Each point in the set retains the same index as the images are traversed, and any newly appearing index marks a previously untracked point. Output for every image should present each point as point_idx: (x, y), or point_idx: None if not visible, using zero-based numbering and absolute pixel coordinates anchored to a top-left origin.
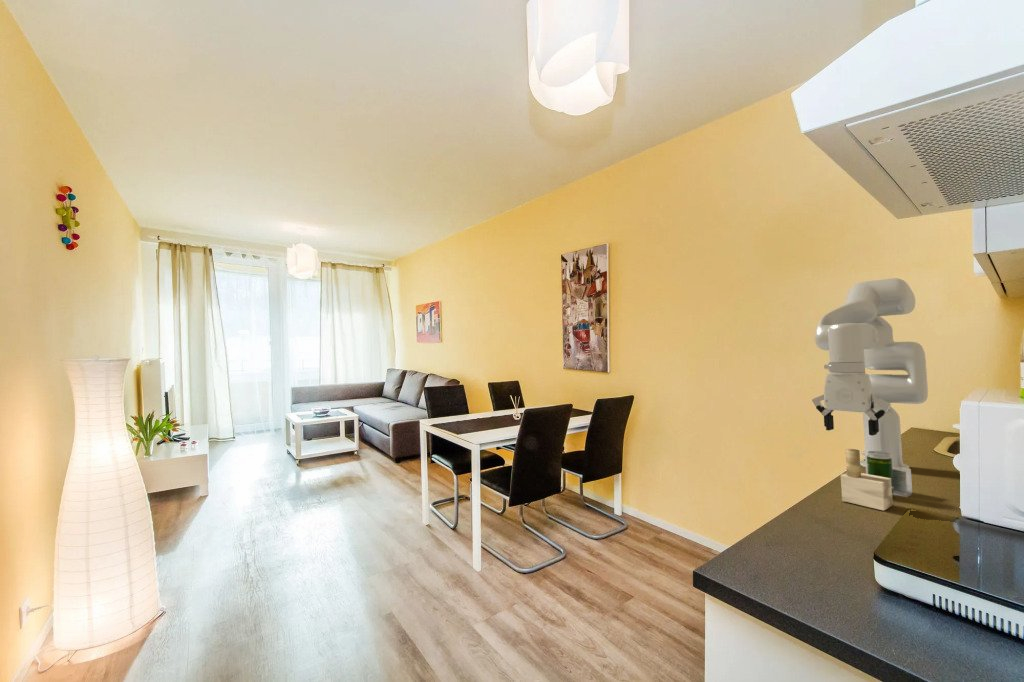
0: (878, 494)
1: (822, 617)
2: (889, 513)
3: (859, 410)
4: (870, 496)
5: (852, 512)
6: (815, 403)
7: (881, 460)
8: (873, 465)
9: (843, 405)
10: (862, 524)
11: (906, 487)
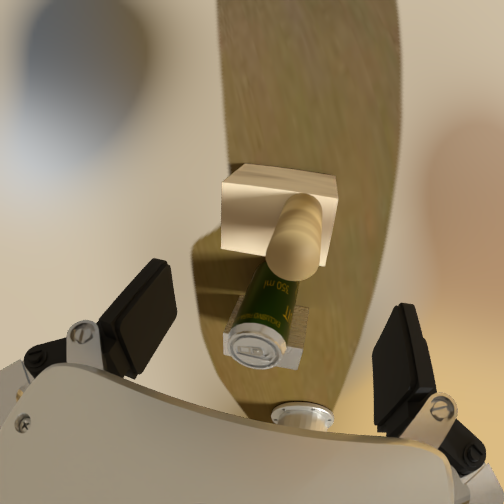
0: (243, 173)
1: None
2: (235, 159)
3: (90, 377)
4: (265, 172)
5: (295, 106)
6: (487, 481)
7: (245, 320)
8: (269, 309)
9: (230, 482)
10: (255, 41)
11: (234, 307)
